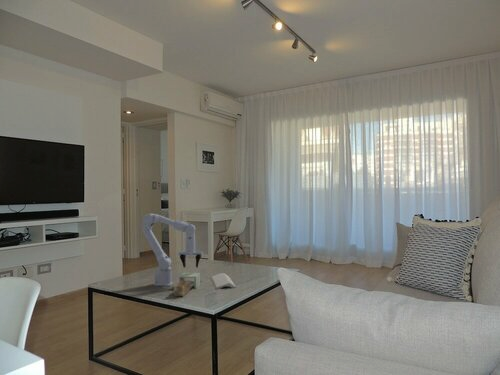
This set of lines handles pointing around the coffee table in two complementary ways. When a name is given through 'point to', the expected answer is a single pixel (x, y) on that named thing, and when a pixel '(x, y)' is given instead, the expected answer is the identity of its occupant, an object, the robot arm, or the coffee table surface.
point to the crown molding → (222, 281)
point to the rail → (190, 287)
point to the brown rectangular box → (181, 288)
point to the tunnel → (191, 275)
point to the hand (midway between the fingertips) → (190, 267)
